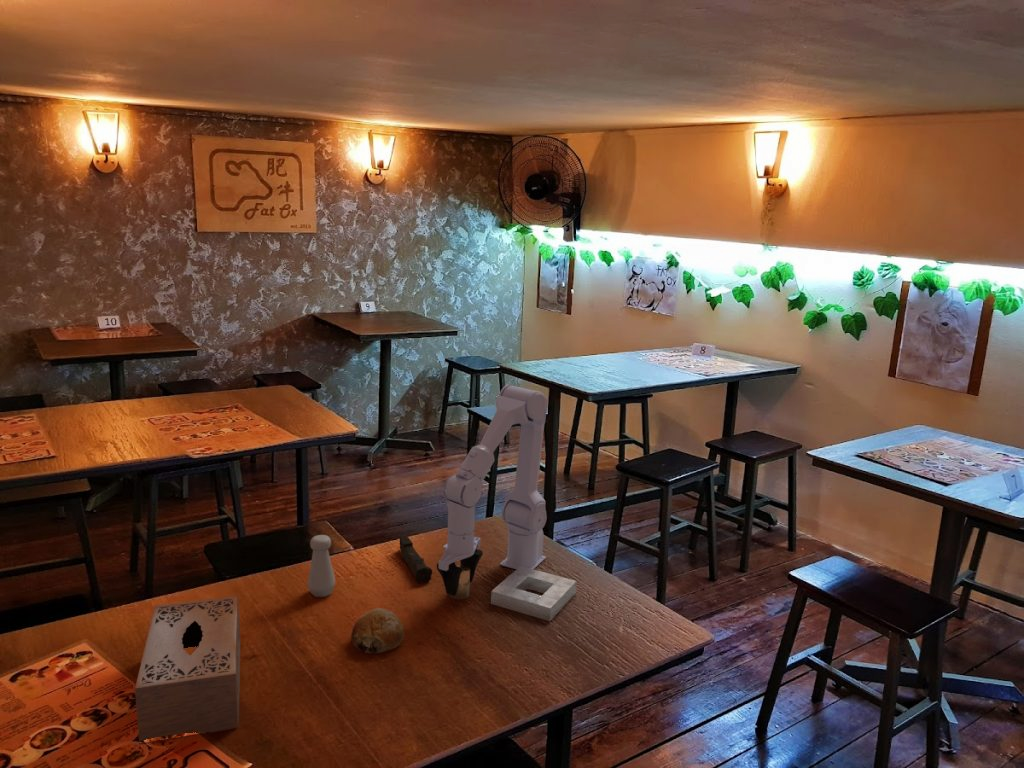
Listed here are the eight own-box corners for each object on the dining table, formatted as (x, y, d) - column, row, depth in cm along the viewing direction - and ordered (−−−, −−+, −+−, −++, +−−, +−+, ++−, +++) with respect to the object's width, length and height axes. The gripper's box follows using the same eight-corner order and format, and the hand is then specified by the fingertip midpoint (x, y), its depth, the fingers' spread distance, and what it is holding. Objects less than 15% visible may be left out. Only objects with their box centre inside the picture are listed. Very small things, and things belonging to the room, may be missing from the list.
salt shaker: (340, 591, 166) (340, 536, 163) (321, 601, 161) (320, 545, 158) (321, 583, 169) (321, 529, 166) (302, 593, 164) (301, 538, 161)
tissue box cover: (158, 654, 140) (154, 605, 138) (240, 643, 145) (238, 595, 143) (139, 745, 117) (134, 688, 114) (238, 729, 121) (235, 673, 119)
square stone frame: (520, 577, 175) (520, 565, 174) (575, 593, 169) (576, 580, 168) (491, 603, 163) (491, 591, 162) (549, 621, 157) (550, 608, 156)
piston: (455, 587, 169) (456, 563, 168) (472, 592, 167) (473, 568, 166) (445, 596, 165) (446, 570, 164) (462, 601, 164) (463, 575, 162)
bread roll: (406, 662, 147) (420, 622, 148) (367, 660, 139) (382, 618, 140) (375, 641, 154) (389, 603, 154) (336, 639, 146) (351, 599, 147)
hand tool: (432, 583, 172) (432, 564, 171) (415, 585, 170) (415, 566, 169) (412, 549, 189) (412, 531, 188) (396, 550, 187) (396, 533, 186)
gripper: (462, 515, 171) (460, 570, 174) (426, 537, 159) (425, 596, 161) (489, 521, 168) (487, 577, 171) (455, 545, 155) (454, 605, 158)
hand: (459, 587), depth 166 cm, fingers open, 6 cm apart
